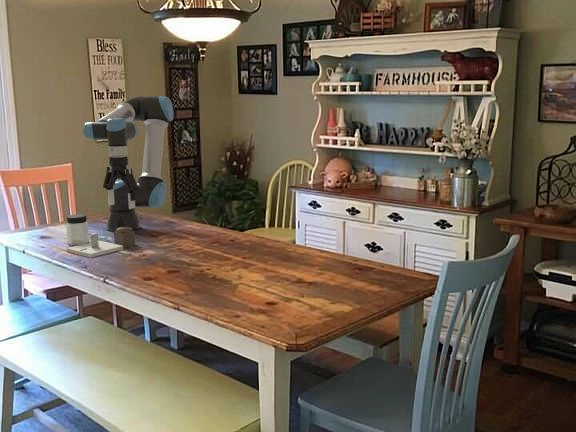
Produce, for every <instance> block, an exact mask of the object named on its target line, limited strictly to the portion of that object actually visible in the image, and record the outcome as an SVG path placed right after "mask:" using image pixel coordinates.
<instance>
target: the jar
mask: <svg viewBox="0 0 576 432" xmlns="http://www.w3.org/2000/svg"><path fill="white" fill-rule="evenodd" d="M65 226H66V239H67V244H68V245H70V246H78V245H82V244H87V243H90V233H89V221H88V219H87V215H86V214H84V213H83V214H82V213H78V214H77V213H74V214H68V215H67V216H66V223H65Z"/></svg>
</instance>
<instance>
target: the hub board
mask: <svg viewBox="0 0 576 432" xmlns="http://www.w3.org/2000/svg"><path fill="white" fill-rule="evenodd" d="M89 239H90V242H89V243H86V244H82V245H73V246H71V247H66V252H67V253H71V254H75V255H79V256H84V257H87V258H94V257H98V256H102V255H106V254H110V253H113V252H119V251H122V250H124V248H123V246H122V245H117V244H115V243H112V242H108V241H103V240H99V233H97V232H93V233H89Z"/></svg>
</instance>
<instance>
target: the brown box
mask: <svg viewBox="0 0 576 432" xmlns="http://www.w3.org/2000/svg"><path fill="white" fill-rule="evenodd" d="M113 238H114V244H117V245H122V246H123V249H124V248H128V247H132V246H135V245H136V236H135V230H132V228H131V227H120V228H117V229H116V232H115V231H113Z"/></svg>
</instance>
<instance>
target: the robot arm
mask: <svg viewBox="0 0 576 432" xmlns="http://www.w3.org/2000/svg"><path fill="white" fill-rule="evenodd" d="M174 118H175V117H174V107H173V103H172V101H171V99H170V98H169V97H168V96H160V95H159V96H156V95H155V96H152V95H151V96H135V97H131V98H129V99H127V100H124V101H123V102H120V103H118V104H117V106H116V108H115V109H114V110H112V111H111V112H109V113H107V114H106V115H104V116H103V117H101V118H100V119H98V120H97V121H89V122H84V125H83V128H82V131H83V132H82V133H83V136H84V138H85V139H86V140H93V141H97V140H99V141H100V140H105V141H106V140H107V146H108V156H110V157H109V158H108V159H109V161H108V162H109V166H107V167H106V171H105V176H104V179H103V180H104V181H103V185H102V188H103V189H105V190H106V195H107V206H108V207H109V215H108V218H107V222H106V230H107V231H110V232H116V229H117V228H120V227H131V228H132V231H136V230H138V229H140V228H141V227H140V224H141V223H140V221H139V218H138V216H137V213H136V208H152V209H153V208H160V207H162V206H163V204H165V201H166V200H167V195H168V187H167V183H165V182H164V179H163V178H162V176H161V173H162V164H163V162H162V161H163V154H164V153H163V152H164V140H165V131H166V128H167V127H169V122H172V121H173V120H174ZM136 121H137V122H143V124H144V125H145V127H146V128H145V138H144V139H145V140H144V149H143V161H142V169H141V170H142V171H141V175H140V176H138V177H137V182H136V179H135V177H134V173H133V169H132V168H127V166H128V165H129V158H128V155H129V154H128V140H133V139H135V138H136V137H137V136H138V133H139V128H138V125H137V124H136V123H135V122H136Z"/></svg>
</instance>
